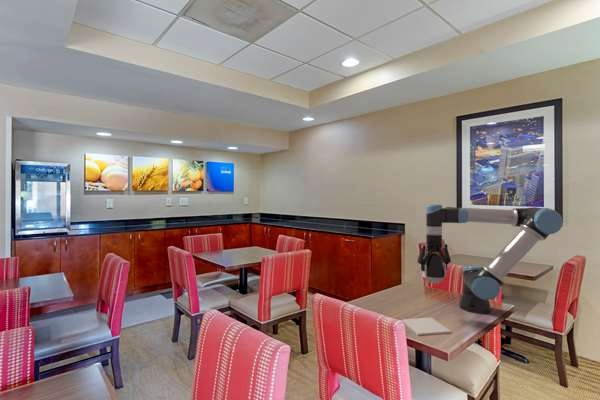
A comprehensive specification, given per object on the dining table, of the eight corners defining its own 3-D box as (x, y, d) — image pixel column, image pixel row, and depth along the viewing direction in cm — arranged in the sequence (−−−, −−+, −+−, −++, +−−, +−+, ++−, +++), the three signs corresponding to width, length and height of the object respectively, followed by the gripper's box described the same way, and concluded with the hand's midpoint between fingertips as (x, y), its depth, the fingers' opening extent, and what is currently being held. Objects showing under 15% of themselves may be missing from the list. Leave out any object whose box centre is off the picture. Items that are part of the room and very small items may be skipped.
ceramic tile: (431, 319, 160) (431, 317, 160) (450, 332, 144) (450, 331, 144) (401, 321, 158) (401, 319, 158) (417, 335, 142) (417, 333, 142)
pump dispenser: (426, 278, 173) (426, 250, 173) (447, 281, 167) (447, 252, 166) (420, 282, 165) (420, 253, 165) (441, 285, 159) (441, 255, 158)
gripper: (449, 232, 171) (449, 273, 171) (410, 233, 167) (410, 275, 168) (458, 234, 163) (458, 277, 164) (417, 235, 160) (417, 279, 161)
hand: (434, 276), depth 166 cm, fingers closed on pump dispenser, 10 cm apart
